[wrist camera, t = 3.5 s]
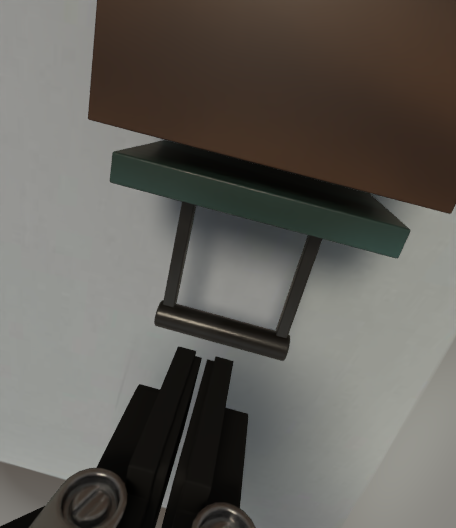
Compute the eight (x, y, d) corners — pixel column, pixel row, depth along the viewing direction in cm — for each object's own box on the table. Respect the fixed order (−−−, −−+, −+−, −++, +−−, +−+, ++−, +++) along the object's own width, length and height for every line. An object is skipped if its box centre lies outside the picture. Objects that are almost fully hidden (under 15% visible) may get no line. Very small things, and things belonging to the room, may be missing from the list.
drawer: (316, 330, 23) (329, 410, 17) (141, 282, 24) (91, 344, 17) (486, -103, 15) (634, -259, 9) (212, -167, 15) (165, -361, 9)
